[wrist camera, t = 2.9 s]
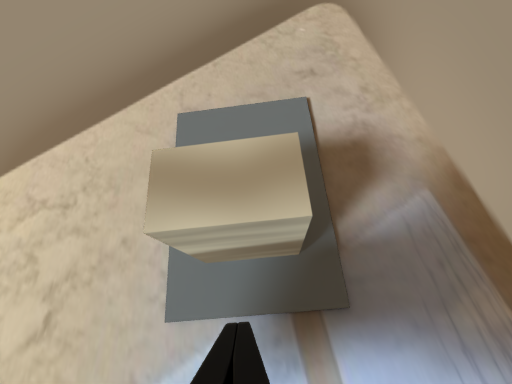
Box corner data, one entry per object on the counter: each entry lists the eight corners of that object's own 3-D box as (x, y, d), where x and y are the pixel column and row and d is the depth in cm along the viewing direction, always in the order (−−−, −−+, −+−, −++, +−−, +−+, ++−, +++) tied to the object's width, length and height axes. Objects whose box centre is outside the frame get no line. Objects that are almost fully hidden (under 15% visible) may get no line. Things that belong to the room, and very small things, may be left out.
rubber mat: (348, 307, 15) (349, 307, 14) (167, 321, 15) (164, 322, 15) (305, 100, 21) (306, 96, 21) (179, 116, 22) (177, 113, 22)
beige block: (298, 254, 16) (312, 215, 9) (206, 263, 16) (143, 233, 9) (291, 203, 17) (297, 132, 10) (206, 212, 18) (152, 150, 10)
